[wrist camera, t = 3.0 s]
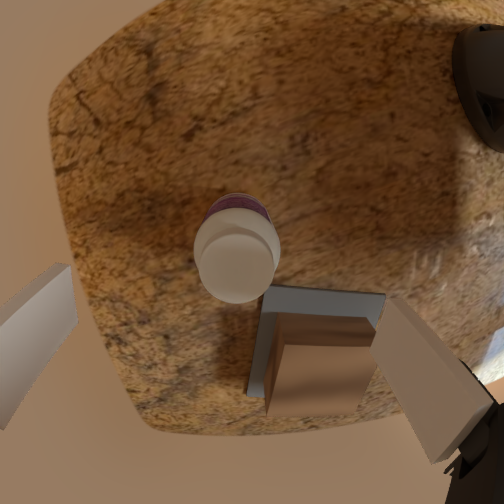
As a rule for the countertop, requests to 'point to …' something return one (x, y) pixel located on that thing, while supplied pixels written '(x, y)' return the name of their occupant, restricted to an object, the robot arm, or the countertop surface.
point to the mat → (304, 303)
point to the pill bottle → (237, 249)
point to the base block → (318, 365)
